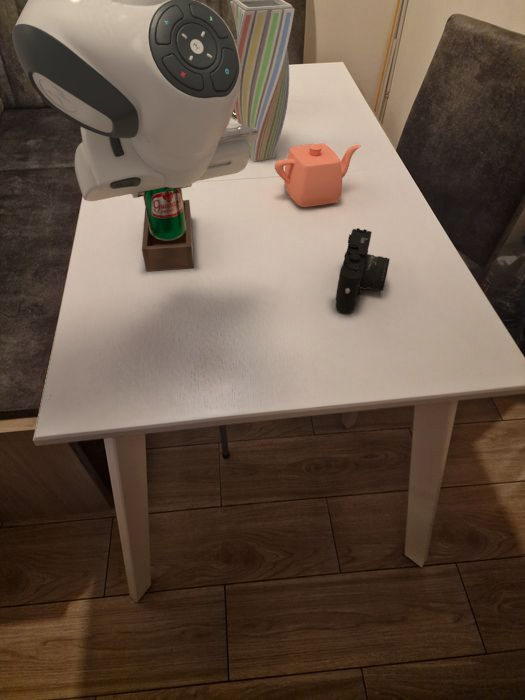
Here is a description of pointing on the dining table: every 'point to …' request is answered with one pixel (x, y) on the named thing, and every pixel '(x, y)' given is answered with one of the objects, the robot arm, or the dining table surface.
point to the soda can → (165, 213)
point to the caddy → (168, 247)
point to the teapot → (314, 173)
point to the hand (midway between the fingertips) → (160, 186)
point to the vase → (263, 69)
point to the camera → (359, 271)
